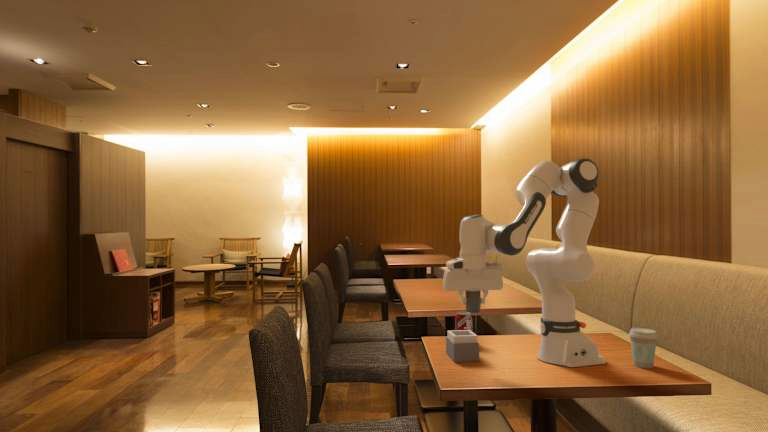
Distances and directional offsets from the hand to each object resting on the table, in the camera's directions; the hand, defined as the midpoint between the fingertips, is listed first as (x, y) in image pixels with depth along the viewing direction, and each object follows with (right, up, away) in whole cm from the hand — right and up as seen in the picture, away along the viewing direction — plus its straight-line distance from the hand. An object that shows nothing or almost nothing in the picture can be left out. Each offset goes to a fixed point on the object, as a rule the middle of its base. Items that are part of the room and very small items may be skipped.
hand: (472, 303), depth 159 cm
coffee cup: (+57, -21, -1) cm, 61 cm away
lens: (0, -3, 0) cm, 3 cm away
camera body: (-2, -21, +9) cm, 23 cm away
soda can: (+2, -21, +28) cm, 35 cm away
